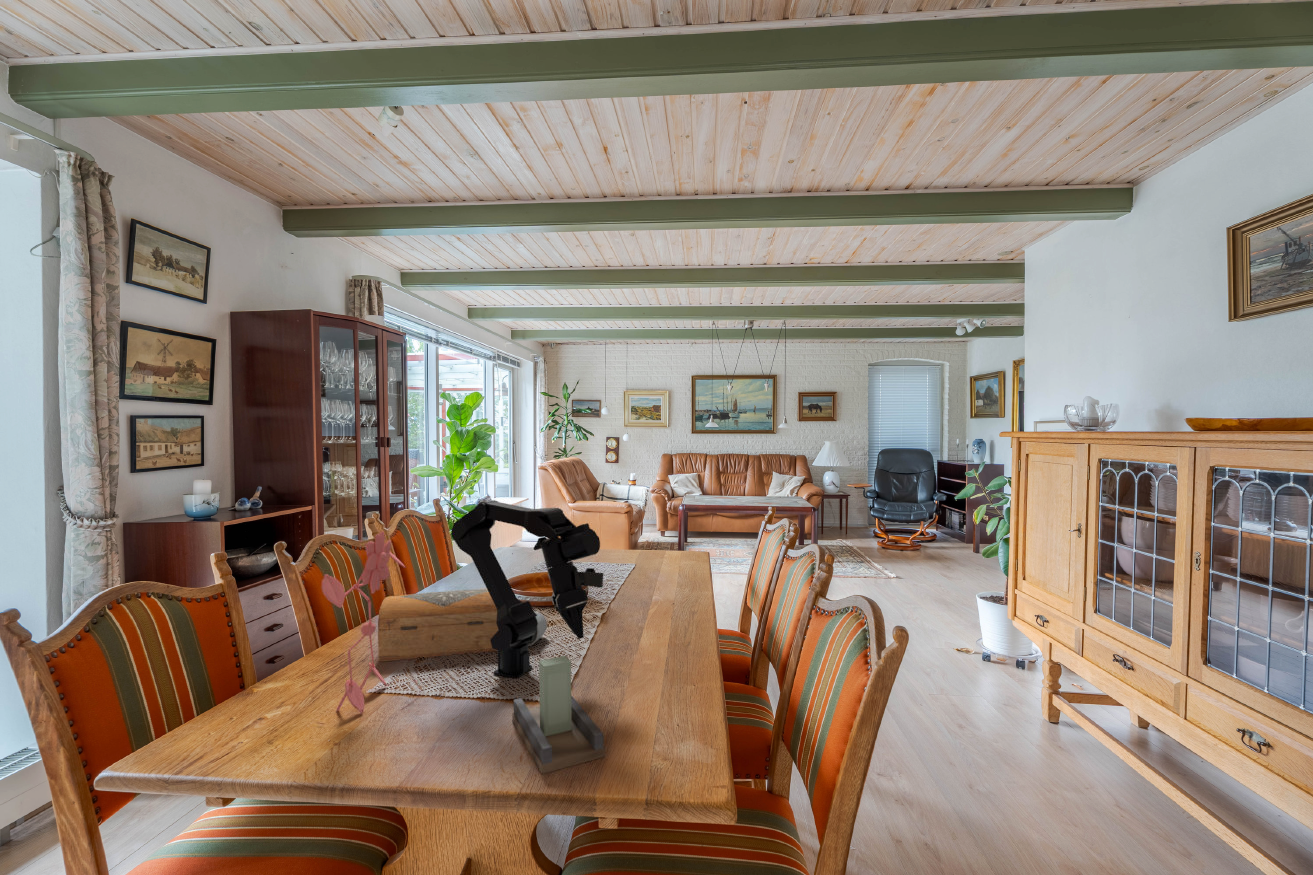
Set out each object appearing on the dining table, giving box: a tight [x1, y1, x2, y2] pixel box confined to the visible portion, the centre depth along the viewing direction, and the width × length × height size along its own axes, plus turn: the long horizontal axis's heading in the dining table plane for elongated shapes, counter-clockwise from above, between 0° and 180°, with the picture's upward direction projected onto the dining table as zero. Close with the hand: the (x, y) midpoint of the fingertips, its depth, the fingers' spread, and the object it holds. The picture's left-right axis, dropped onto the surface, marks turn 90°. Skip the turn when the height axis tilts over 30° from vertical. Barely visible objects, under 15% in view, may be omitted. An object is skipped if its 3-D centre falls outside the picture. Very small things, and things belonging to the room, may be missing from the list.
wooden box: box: [377, 588, 499, 662], centre depth 155 cm, size 30×16×14 cm, turn 103°
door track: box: [511, 694, 606, 775], centre depth 108 cm, size 20×11×4 cm, turn 27°
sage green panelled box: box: [538, 655, 572, 736], centre depth 107 cm, size 3×5×12 cm, turn 117°
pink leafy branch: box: [315, 530, 424, 725], centre depth 123 cm, size 15×26×35 cm, turn 0°
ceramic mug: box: [526, 610, 548, 647], centre depth 157 cm, size 11×8×8 cm
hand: (578, 635), depth 127 cm, fingers open, 9 cm apart
